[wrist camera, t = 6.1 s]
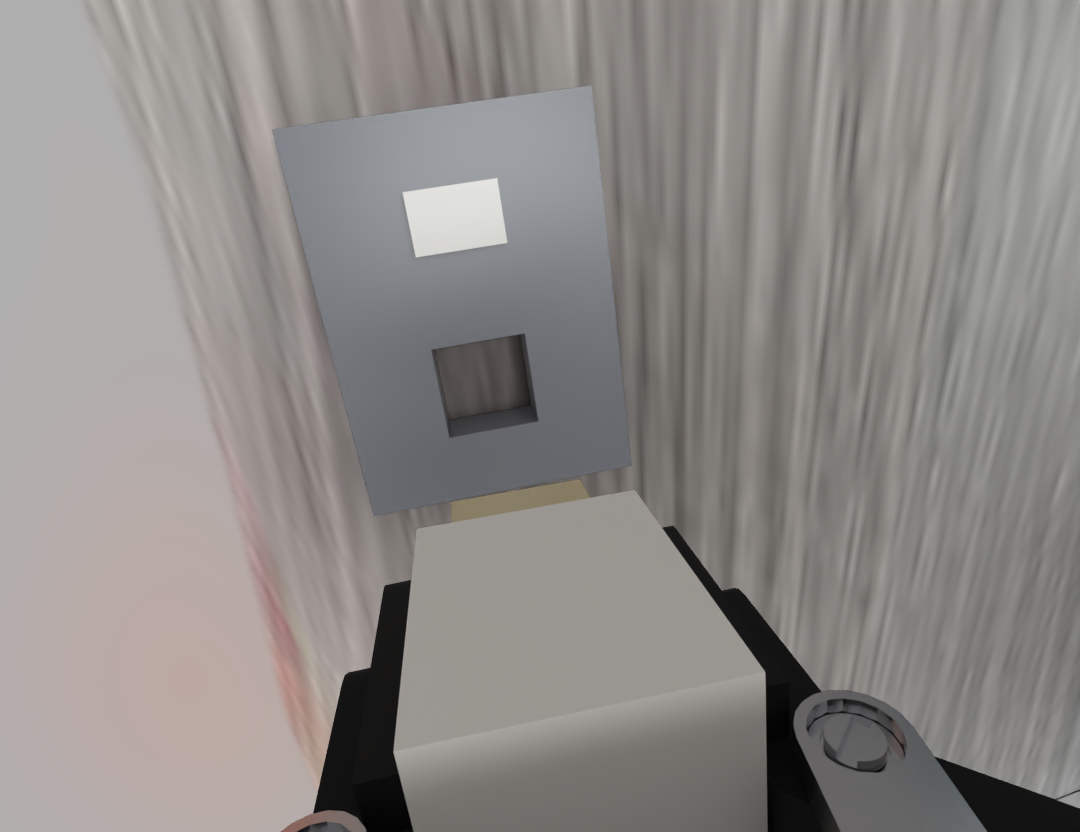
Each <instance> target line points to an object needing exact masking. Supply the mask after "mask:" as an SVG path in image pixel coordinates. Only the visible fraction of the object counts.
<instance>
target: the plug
mask: <svg viewBox="0 0 1080 832" xmlns="http://www.w3.org/2000/svg"><path fill="white" fill-rule="evenodd" d="M393 753H394V756H395V760H396V764H397V768H398V772H399V776H400V780H401V784H402V788H403V792H404V796H405V800H406V804H407V808H408V812H409V815H410V819H411V823H412V827H413V831H414V832H768V826H767V752H766V678H765V671H764V669H763V668H762V667H761V665H760V664H759V662H758V661H757V660H756V658H755V657H754V656H753V654H752V653H751V651H750V650H749V649H748V647H747V646H746V644H745V643H744V642H743V640H742V639H741V637H740V636H739V635H738V633H737V632H736V630H735V629H734V628H733V626H732V625H731V623H730V622H729V621H728V619H727V618H726V616H725V615H724V614H723V612H722V611H721V610H720V608H719V607H718V605H717V604H716V603H715V601H714V600H713V598H712V597H711V596H710V594H709V593H708V591H707V590H706V589H705V587H704V586H703V584H702V583H701V582H700V580H699V579H698V577H697V576H696V575H695V573H694V572H693V570H692V569H691V568H690V566H689V565H688V564H687V562H686V561H685V559H684V558H683V557H682V555H681V554H680V552H679V551H678V550H677V548H676V547H675V545H674V544H673V543H672V541H671V540H670V538H669V537H668V536H667V534H666V533H665V531H664V530H663V529H662V527H661V526H660V524H659V523H658V522H657V520H656V519H655V518H654V516H653V515H652V513H651V512H650V511H649V509H648V508H647V506H646V505H645V504H644V502H643V501H642V499H641V498H640V497H639V495H638V494H637V492H636V491H635V490H632V491H626V492H620V493H615V494H609V495H604V496H598V497H592V498H590V497H589V495H588V493H587V491H586V489H585V487H584V485H583V483H582V481H581V480H580V479H578V480H573V481H567V482H561V483H556V484H550V485H544V486H538V487H533V488H527V489H521V490H516V491H510V492H504V493H499V494H493V495H487V496H481V497H476V498H470V499H464V500H459V501H453V502H451V523H447V524H441V525H436V526H430V527H425V528H419V529H417V530H416V540H415V549H414V559H413V568H412V578H411V588H410V597H409V607H408V616H407V626H406V635H405V645H404V654H403V664H402V673H401V683H400V692H399V702H398V712H397V721H396V731H395V740H394V750H393Z"/></svg>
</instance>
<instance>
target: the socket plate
mask: <svg viewBox="0 0 1080 832" xmlns="http://www.w3.org/2000/svg"><path fill="white" fill-rule="evenodd" d="M272 131H273V135H274V138H275V142H276V146H277V150H278V154H279V157H280V161H281V165H282V169H283V173H284V176H285V180H286V184H287V188H288V192H289V195H290V199H291V203H292V207H293V211H294V214H295V218H296V222H297V226H298V230H299V233H300V237H301V241H302V245H303V249H304V252H305V256H306V260H307V264H308V268H309V271H310V275H311V279H312V283H313V287H314V290H315V294H316V298H317V302H318V306H319V309H320V313H321V317H322V321H323V324H324V328H325V332H326V336H327V340H328V343H329V347H330V351H331V355H332V359H333V362H334V366H335V370H336V374H337V378H338V381H339V385H340V389H341V393H342V397H343V400H344V404H345V408H346V412H347V416H348V419H349V423H350V427H351V431H352V435H353V438H354V442H355V446H356V450H357V454H358V457H359V461H360V465H361V469H362V473H363V476H364V480H365V484H366V488H367V492H368V495H369V499H370V503H371V507H372V511H373V514H374V516H377V515H382V514H388V513H393V512H398V511H403V510H408V509H413V508H418V507H423V506H428V505H433V504H438V503H444V502H449V501H454V500H459V499H464V498H469V497H474V496H479V495H484V494H489V493H494V492H500V491H505V490H510V489H515V488H520V487H525V486H530V485H535V484H540V483H545V482H550V481H556V480H561V479H566V478H571V477H576V476H581V475H586V474H591V473H596V472H601V471H606V470H611V469H617V468H622V467H627V466H632V464H631V455H630V445H629V436H628V426H627V417H626V407H625V398H624V388H623V379H622V369H621V360H620V350H619V341H618V331H617V322H616V312H615V303H614V293H613V284H612V274H611V265H610V255H609V246H608V237H607V227H606V218H605V208H604V199H603V189H602V180H601V170H600V161H599V151H598V142H597V132H596V123H595V113H594V104H593V94H592V86H584V87H577V88H570V89H563V90H555V91H548V92H541V93H533V94H526V95H519V96H512V97H504V98H497V99H490V100H483V101H475V102H468V103H461V104H453V105H446V106H439V107H432V108H424V109H417V110H410V111H403V112H395V113H388V114H381V115H373V116H366V117H359V118H352V119H344V120H337V121H330V122H323V123H315V124H308V125H301V126H294V127H286V128H279V129H272ZM519 334H520V338H521V344H522V350H523V356H524V363H525V369H526V375H527V382H528V388H529V394H530V401H531V405H530V406H524V407H519V408H514V409H508V410H503V411H497V412H492V413H487V414H481V415H476V416H470V417H465V418H459V419H454V420H449V417H448V412H447V407H446V402H445V398H444V393H443V388H442V383H441V378H440V373H439V368H438V364H437V359H436V354H435V349H438V348H444V347H450V346H456V345H461V344H467V343H473V342H479V341H484V340H490V339H496V338H502V337H507V336H513V335H519Z"/></svg>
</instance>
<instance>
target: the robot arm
mask: <svg viewBox="0 0 1080 832" xmlns="http://www.w3.org/2000/svg"><path fill="white" fill-rule="evenodd" d="M662 529H663V530H664V531H665V533H666V534H667V536H668V537H669V538H670V540H671V541H672V543H673V544H674V545H675V547H676V548H677V550H678V551H679V552H680V554H681V555H682V557H683V558H684V559H685V561H686V562H687V564H688V565H689V566H690V568H691V569H692V570H693V572H694V573H695V575H696V576H697V577H698V579H699V580H700V582H701V583H702V584H703V586H704V587H705V589H706V590H707V591H708V593H709V594H710V596H711V597H712V598H713V600H714V601H715V603H716V604H717V605H718V607H719V608H720V610H721V611H722V612H723V614H724V615H725V616H726V618H727V619H728V621H729V622H730V623H731V625H732V626H733V628H734V629H735V630H736V632H737V633H738V635H739V636H740V637H741V639H742V640H743V642H744V643H745V644H746V646H747V647H748V649H749V650H750V651H751V653H752V654H753V656H754V657H755V658H756V660H757V661H758V662H759V664H760V665H761V667H762V668H763V669H764V671H765V678H766V752H767V826H768V832H1080V808H1077V807H1075V806H1072V805H1069V804H1066V803H1063V802H1061V801H1058V800H1055V799H1052V798H1049V797H1047V796H1044V795H1041V794H1038V793H1035V792H1032V791H1030V790H1027V789H1024V788H1021V787H1018V786H1016V785H1013V784H1010V783H1007V782H1004V781H1002V780H999V779H996V778H993V777H990V776H988V775H985V774H982V773H979V772H976V771H974V770H971V769H968V768H965V767H962V766H959V765H957V764H954V763H951V762H948V761H945V760H943V759H940V758H937V757H934V756H933V754H932V753H931V751H930V750H929V748H928V747H927V746H926V744H925V743H924V741H923V740H922V739H921V737H920V736H919V734H918V733H917V731H916V730H915V729H914V727H913V726H912V725H911V724H910V723H909V722H908V721H907V720H906V719H905V717H904V716H903V715H902V714H901V713H899V712H898V711H897V710H895V709H894V708H892V707H891V706H889V705H888V704H886V703H885V702H883V701H880V700H878V699H876V698H873V697H871V696H869V695H866V694H862V693H858V692H853V691H848V690H828V691H824V692H821V691H820V689H819V688H818V687H817V686H816V684H815V683H814V682H813V681H812V679H811V678H810V677H809V675H808V674H807V673H806V672H805V670H804V669H803V668H802V667H801V665H800V664H799V663H798V662H797V660H796V659H795V658H794V657H793V655H792V654H791V653H790V651H789V650H788V649H787V648H786V646H785V645H784V644H783V643H782V641H781V640H780V639H779V638H778V636H777V635H776V634H775V633H774V631H773V630H772V629H771V628H770V626H769V625H768V624H767V622H766V621H765V620H764V619H763V617H762V616H761V615H760V614H759V612H758V611H757V610H756V609H755V607H754V606H753V605H752V604H751V602H750V601H749V600H748V598H747V597H746V596H745V595H744V594H743V593H742V592H741V591H740V590H739V589H736V588H732V589H728V590H723V591H721V589H720V588H719V586H718V585H717V584H716V582H715V581H714V580H713V578H712V577H711V576H710V574H709V573H708V572H707V570H706V569H705V568H704V566H703V565H702V564H701V562H700V561H699V559H698V558H697V557H696V555H695V554H694V553H693V551H692V550H691V549H690V547H689V546H688V545H687V543H686V542H685V541H684V539H683V538H682V536H681V535H680V534H679V532H678V531H677V530H676V528H675V527H674V526H669V527H664V528H662ZM410 588H411V580H409V581H404V582H399V583H394V584H390V585H386V586H385V587H384V591H383V597H382V603H381V609H380V615H379V621H378V627H377V633H376V639H375V645H374V651H373V657H372V663H371V668H368V669H363V670H359V671H354V672H349V673H347V674H346V675H345V676H344V679H343V682H342V686H341V691H340V695H339V700H338V704H337V709H336V713H335V718H334V722H333V727H332V731H331V736H330V740H329V745H328V749H327V754H326V758H325V763H324V767H323V772H322V776H321V781H320V785H319V790H318V794H317V799H316V803H315V808H314V812H313V814H310V815H308V816H306V817H304V818H302V819H300V820H298V821H296V822H294V823H292V824H291V825H289V826H288V827H287V828H285V829H284V830H283V831H281V832H414V831H413V827H412V823H411V819H410V815H409V812H408V808H407V804H406V800H405V796H404V792H403V788H402V784H401V780H400V776H399V772H398V768H397V764H396V760H395V756H394V753H393V750H394V740H395V731H396V721H397V712H398V702H399V692H400V683H401V673H402V664H403V654H404V645H405V635H406V626H407V616H408V607H409V597H410Z"/></svg>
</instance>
